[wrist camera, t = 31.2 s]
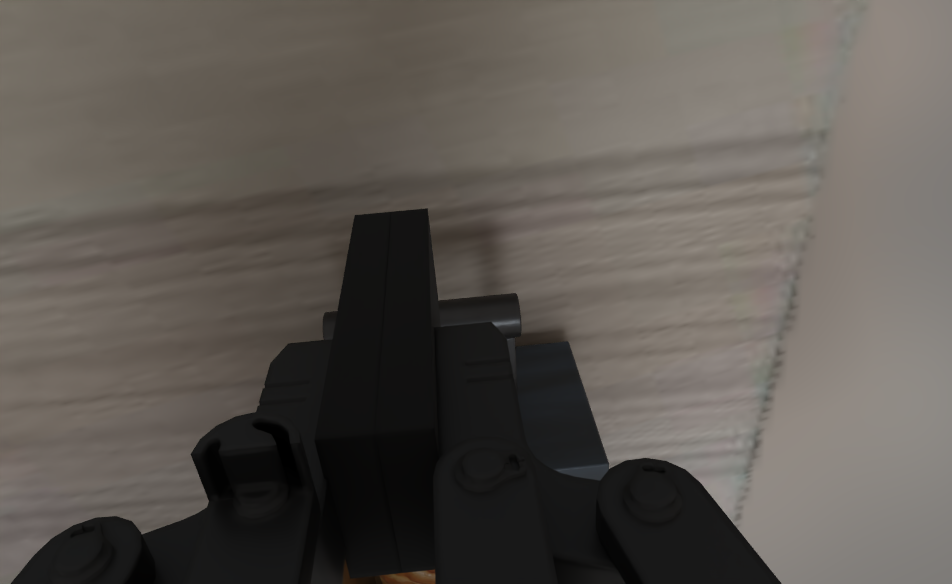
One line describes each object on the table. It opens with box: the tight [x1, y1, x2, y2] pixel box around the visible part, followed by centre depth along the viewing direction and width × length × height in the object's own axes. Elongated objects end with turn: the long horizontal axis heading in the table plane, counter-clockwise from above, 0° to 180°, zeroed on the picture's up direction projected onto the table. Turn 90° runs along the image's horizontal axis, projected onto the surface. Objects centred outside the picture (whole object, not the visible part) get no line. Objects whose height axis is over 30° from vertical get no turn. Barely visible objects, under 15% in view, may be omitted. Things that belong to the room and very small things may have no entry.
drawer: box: [323, 293, 609, 584], centre depth 32 cm, size 22×13×8 cm, turn 4°
